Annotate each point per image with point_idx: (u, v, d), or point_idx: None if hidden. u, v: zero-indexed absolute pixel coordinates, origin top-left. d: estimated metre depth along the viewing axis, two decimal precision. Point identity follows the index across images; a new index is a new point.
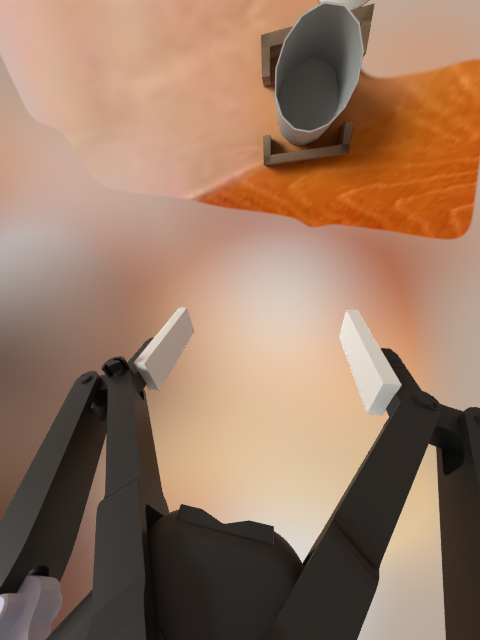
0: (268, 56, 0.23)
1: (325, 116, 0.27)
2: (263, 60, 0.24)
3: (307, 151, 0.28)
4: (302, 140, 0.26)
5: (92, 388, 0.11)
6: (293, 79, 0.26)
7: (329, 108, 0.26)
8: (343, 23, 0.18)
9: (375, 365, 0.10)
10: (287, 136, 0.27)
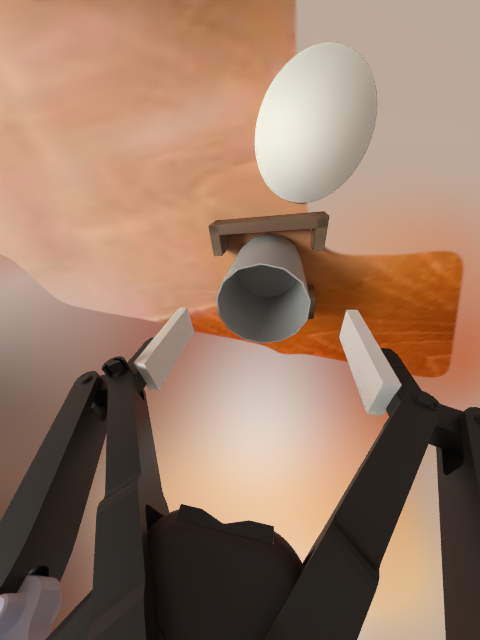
0: (219, 241, 0.21)
1: (288, 279, 0.25)
2: (213, 244, 0.21)
3: None
4: (261, 312, 0.24)
5: (92, 388, 0.11)
6: None
7: (291, 274, 0.24)
8: None
9: (375, 365, 0.10)
10: (247, 299, 0.25)
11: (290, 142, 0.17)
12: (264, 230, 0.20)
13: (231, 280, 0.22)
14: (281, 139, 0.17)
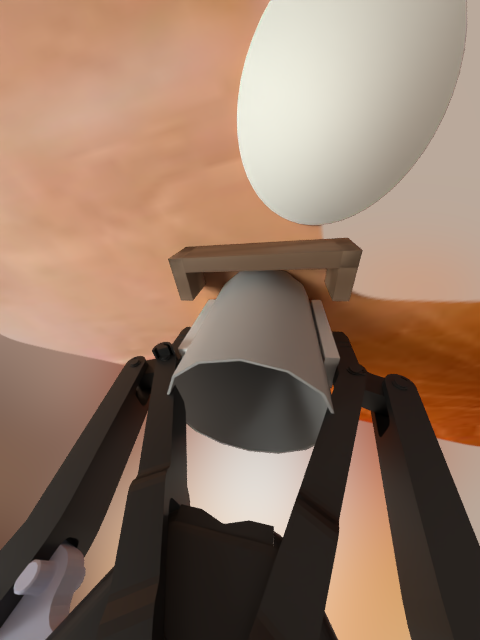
0: (186, 281, 0.14)
1: None
2: (178, 284, 0.14)
3: None
4: (253, 378, 0.17)
5: (139, 373, 0.11)
6: None
7: None
8: None
9: (323, 344, 0.11)
10: None
11: (297, 127, 0.10)
12: (254, 268, 0.12)
13: None
14: (282, 121, 0.10)
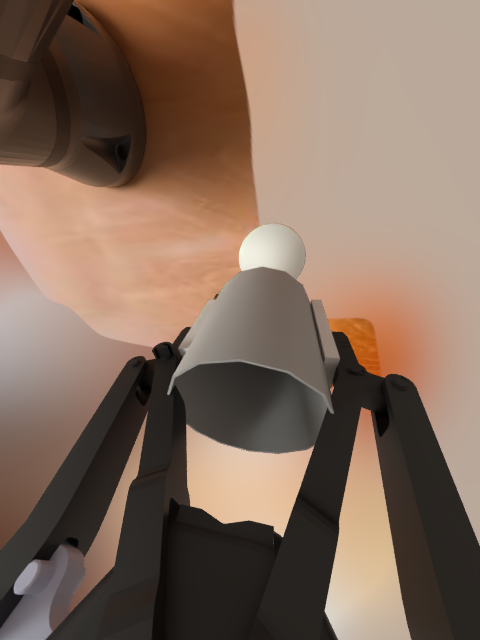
0: None
1: None
2: None
3: None
4: (253, 378, 0.17)
5: (139, 373, 0.11)
6: None
7: None
8: None
9: (323, 344, 0.11)
10: None
11: (259, 261, 0.29)
12: None
13: None
14: (254, 259, 0.29)
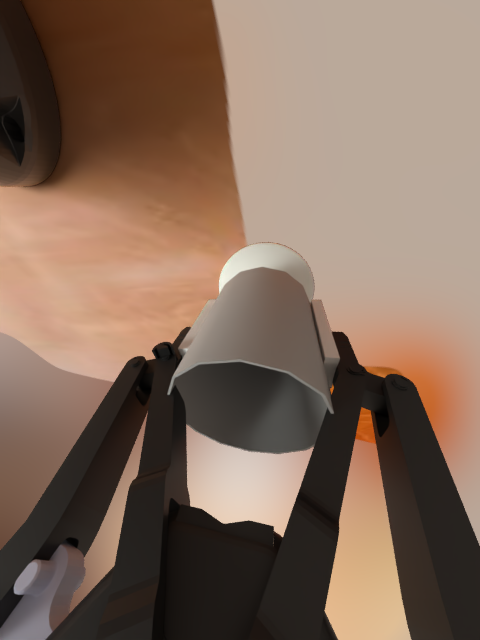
0: None
1: None
2: None
3: None
4: (253, 378, 0.17)
5: (139, 373, 0.11)
6: None
7: None
8: None
9: (323, 344, 0.11)
10: None
11: None
12: None
13: None
14: None
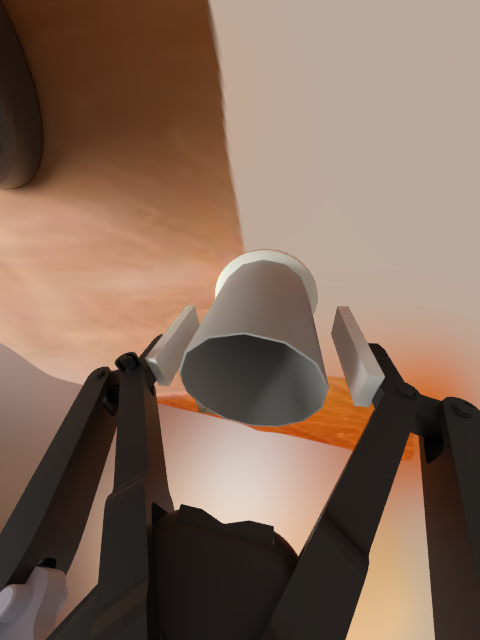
0: None
1: None
2: None
3: None
4: None
5: (104, 383, 0.11)
6: None
7: None
8: None
9: (361, 358, 0.10)
10: (236, 344, 0.19)
11: None
12: None
13: None
14: None
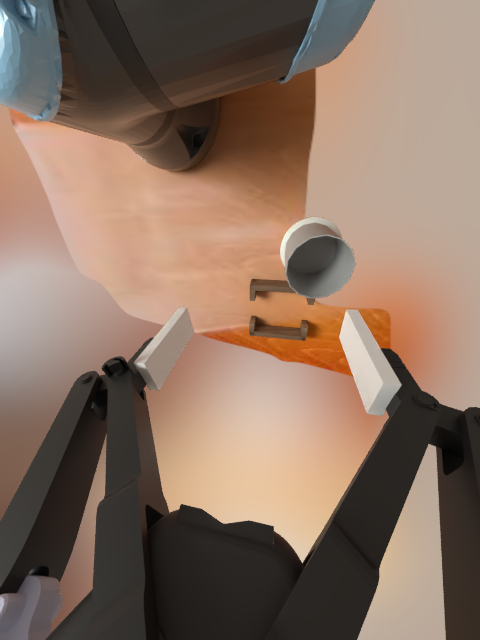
0: (254, 293, 0.36)
1: (324, 260, 0.32)
2: (250, 294, 0.37)
3: (278, 335, 0.41)
4: (304, 282, 0.31)
5: (92, 388, 0.11)
6: None
7: (328, 255, 0.32)
8: None
9: (375, 365, 0.10)
10: (292, 273, 0.33)
11: None
12: (281, 291, 0.35)
13: (286, 254, 0.30)
14: None
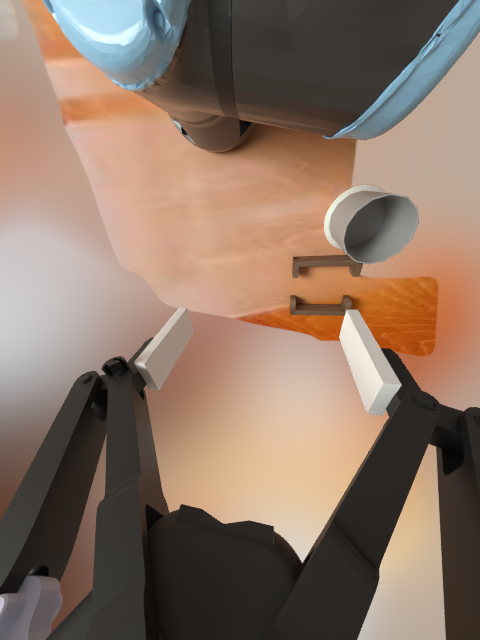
0: (297, 270, 0.37)
1: (371, 229, 0.32)
2: (294, 271, 0.37)
3: (320, 312, 0.41)
4: (353, 252, 0.32)
5: (92, 388, 0.11)
6: None
7: (375, 224, 0.32)
8: (402, 199, 0.24)
9: (375, 365, 0.10)
10: None
11: None
12: (326, 265, 0.35)
13: (335, 225, 0.30)
14: None
